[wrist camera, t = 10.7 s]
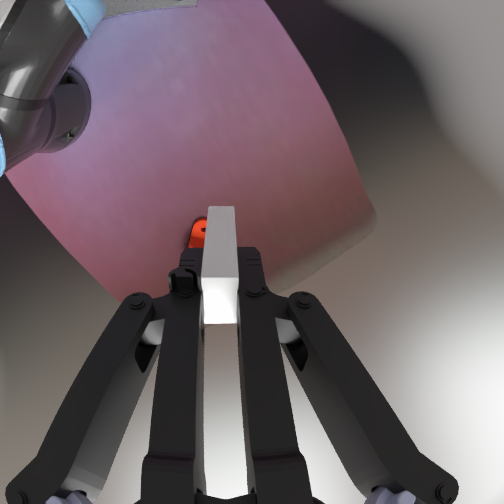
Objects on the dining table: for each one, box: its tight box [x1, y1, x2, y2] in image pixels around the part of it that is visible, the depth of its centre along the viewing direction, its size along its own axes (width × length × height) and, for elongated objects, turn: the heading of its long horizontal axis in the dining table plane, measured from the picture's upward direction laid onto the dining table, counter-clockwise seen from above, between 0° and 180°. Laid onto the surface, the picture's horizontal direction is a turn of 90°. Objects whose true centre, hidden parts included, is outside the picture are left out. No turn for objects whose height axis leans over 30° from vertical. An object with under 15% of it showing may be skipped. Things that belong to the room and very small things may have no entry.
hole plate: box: [101, 0, 198, 20], centre depth 25 cm, size 22×4×1 cm, turn 86°
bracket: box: [188, 218, 207, 248], centre depth 50 cm, size 12×4×5 cm, turn 161°
